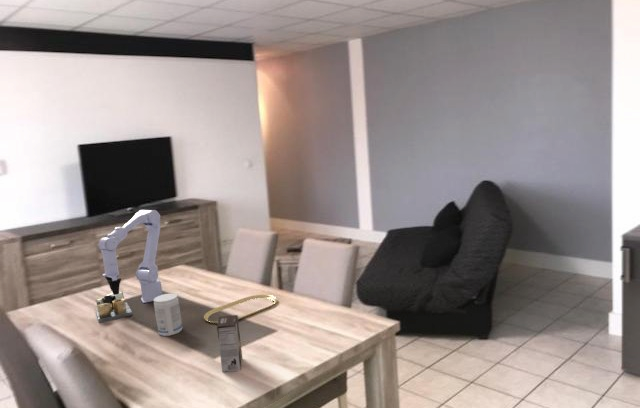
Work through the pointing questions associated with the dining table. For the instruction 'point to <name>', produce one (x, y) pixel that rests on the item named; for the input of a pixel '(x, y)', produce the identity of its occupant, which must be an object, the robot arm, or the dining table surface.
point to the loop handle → (238, 303)
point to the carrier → (110, 312)
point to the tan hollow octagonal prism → (119, 305)
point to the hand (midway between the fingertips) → (115, 292)
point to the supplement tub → (168, 314)
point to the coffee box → (229, 343)
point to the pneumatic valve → (110, 298)
